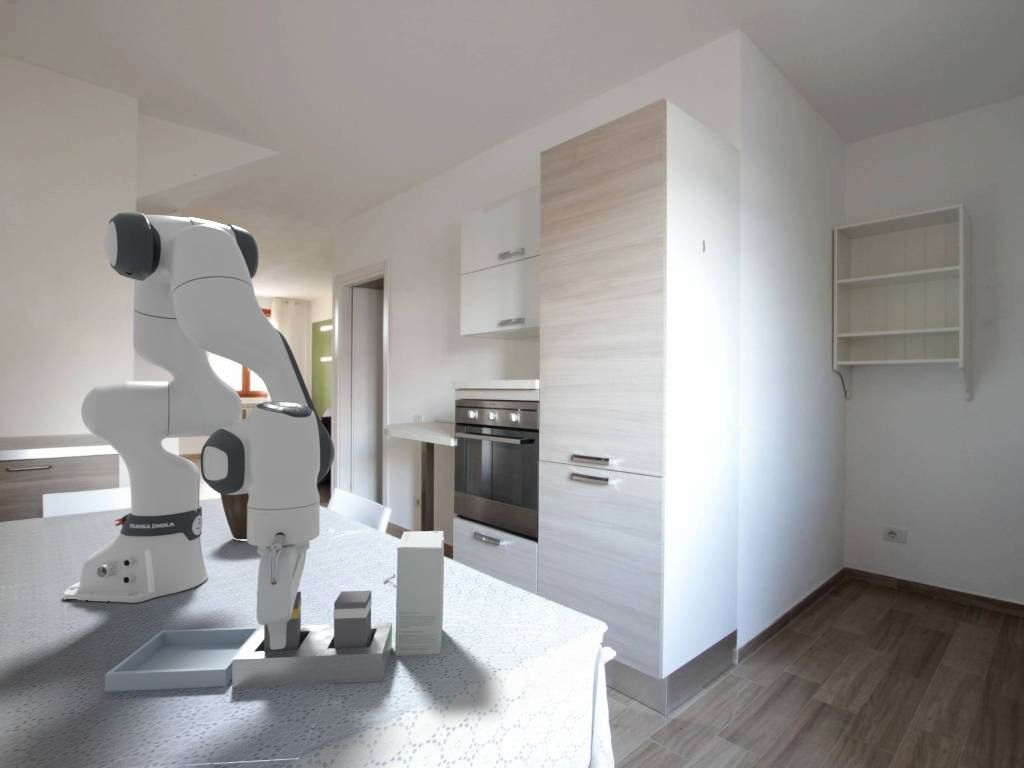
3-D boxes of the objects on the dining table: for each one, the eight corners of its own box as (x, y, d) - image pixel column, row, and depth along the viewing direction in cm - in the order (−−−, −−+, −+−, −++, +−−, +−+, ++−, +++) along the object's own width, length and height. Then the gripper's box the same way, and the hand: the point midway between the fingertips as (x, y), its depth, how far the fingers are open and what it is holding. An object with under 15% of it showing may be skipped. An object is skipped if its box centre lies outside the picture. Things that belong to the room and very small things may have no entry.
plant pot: (294, 535, 137) (295, 473, 137) (239, 549, 124) (239, 481, 125) (261, 527, 145) (261, 469, 145) (205, 540, 132) (206, 476, 133)
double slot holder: (232, 692, 65) (232, 659, 65) (260, 656, 74) (260, 627, 74) (381, 685, 66) (382, 653, 66) (391, 650, 75) (391, 622, 75)
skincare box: (401, 632, 81) (402, 530, 81) (445, 631, 81) (445, 529, 82) (394, 660, 73) (394, 546, 73) (442, 658, 73) (442, 545, 73)
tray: (104, 696, 64) (104, 674, 64) (161, 648, 76) (161, 630, 76) (225, 690, 65) (225, 669, 65) (262, 644, 77) (262, 626, 77)
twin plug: (333, 673, 68) (333, 603, 68) (340, 657, 72) (341, 591, 72) (365, 672, 68) (366, 602, 69) (371, 656, 73) (371, 590, 73)
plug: (263, 677, 67) (264, 606, 67) (268, 662, 71) (268, 594, 71) (298, 672, 68) (298, 602, 68) (300, 657, 72) (301, 591, 72)
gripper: (303, 544, 61) (302, 665, 61) (314, 507, 80) (313, 599, 80) (242, 548, 59) (241, 673, 59) (269, 510, 79) (268, 603, 78)
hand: (283, 630), depth 70 cm, fingers open, 8 cm apart
